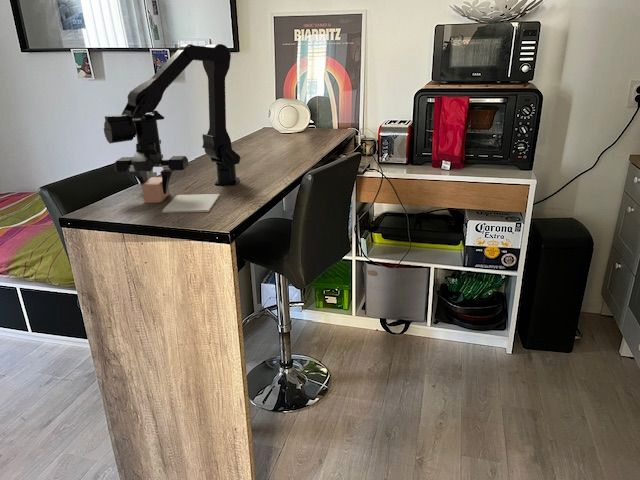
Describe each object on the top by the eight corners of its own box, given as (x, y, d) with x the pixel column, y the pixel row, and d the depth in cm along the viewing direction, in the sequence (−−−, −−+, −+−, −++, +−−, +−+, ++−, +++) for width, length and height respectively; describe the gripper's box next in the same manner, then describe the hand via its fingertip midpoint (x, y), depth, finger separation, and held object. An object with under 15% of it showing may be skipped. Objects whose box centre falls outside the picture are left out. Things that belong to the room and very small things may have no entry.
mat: (177, 196, 142) (177, 194, 141) (219, 195, 141) (219, 194, 141) (162, 212, 129) (162, 210, 128) (208, 211, 128) (208, 209, 128)
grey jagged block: (154, 184, 154) (150, 158, 151) (158, 184, 154) (154, 159, 151) (139, 190, 148) (134, 164, 145) (144, 191, 148) (139, 164, 145)
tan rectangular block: (154, 194, 145) (151, 177, 143) (169, 193, 144) (167, 177, 143) (144, 202, 137) (141, 184, 135) (160, 202, 137) (158, 184, 135)
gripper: (100, 144, 127) (112, 203, 133) (173, 143, 127) (181, 202, 133) (118, 136, 138) (127, 191, 143) (185, 135, 137) (192, 190, 143)
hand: (156, 193), depth 140 cm, fingers closed on tan rectangular block, 4 cm apart
